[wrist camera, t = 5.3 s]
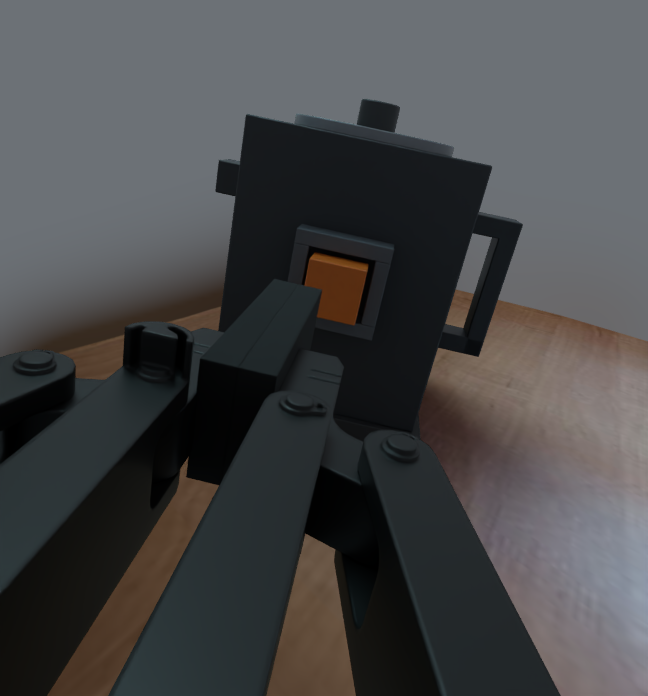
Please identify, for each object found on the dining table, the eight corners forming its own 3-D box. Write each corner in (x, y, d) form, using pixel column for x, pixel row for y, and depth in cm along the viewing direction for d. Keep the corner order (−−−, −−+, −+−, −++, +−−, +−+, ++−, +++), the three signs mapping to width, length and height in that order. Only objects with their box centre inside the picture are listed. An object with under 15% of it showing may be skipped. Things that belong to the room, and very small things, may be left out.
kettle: (156, 406, 33) (186, 50, 25) (228, 328, 47) (261, 84, 39) (468, 482, 32) (595, 135, 24) (446, 379, 46) (522, 139, 38)
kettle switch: (299, 313, 28) (309, 258, 27) (304, 304, 29) (314, 251, 28) (354, 326, 28) (367, 271, 26) (356, 316, 29) (369, 263, 28)
